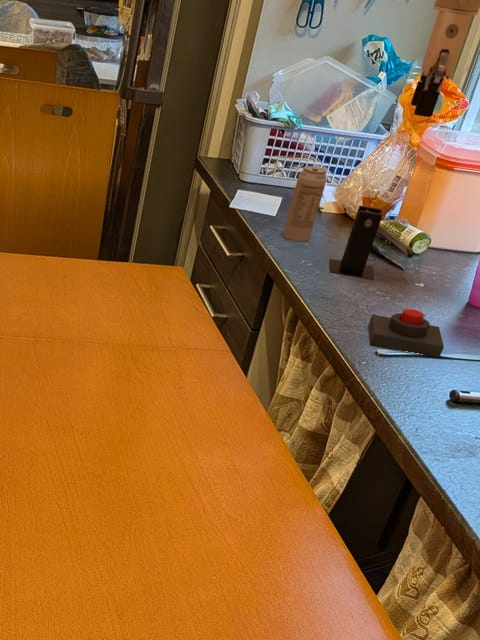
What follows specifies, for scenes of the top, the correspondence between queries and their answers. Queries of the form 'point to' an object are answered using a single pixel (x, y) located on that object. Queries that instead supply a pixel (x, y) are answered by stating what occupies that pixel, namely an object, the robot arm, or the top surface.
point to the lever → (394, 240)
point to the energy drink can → (305, 203)
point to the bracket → (359, 245)
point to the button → (412, 317)
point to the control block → (405, 335)
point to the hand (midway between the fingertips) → (420, 110)
